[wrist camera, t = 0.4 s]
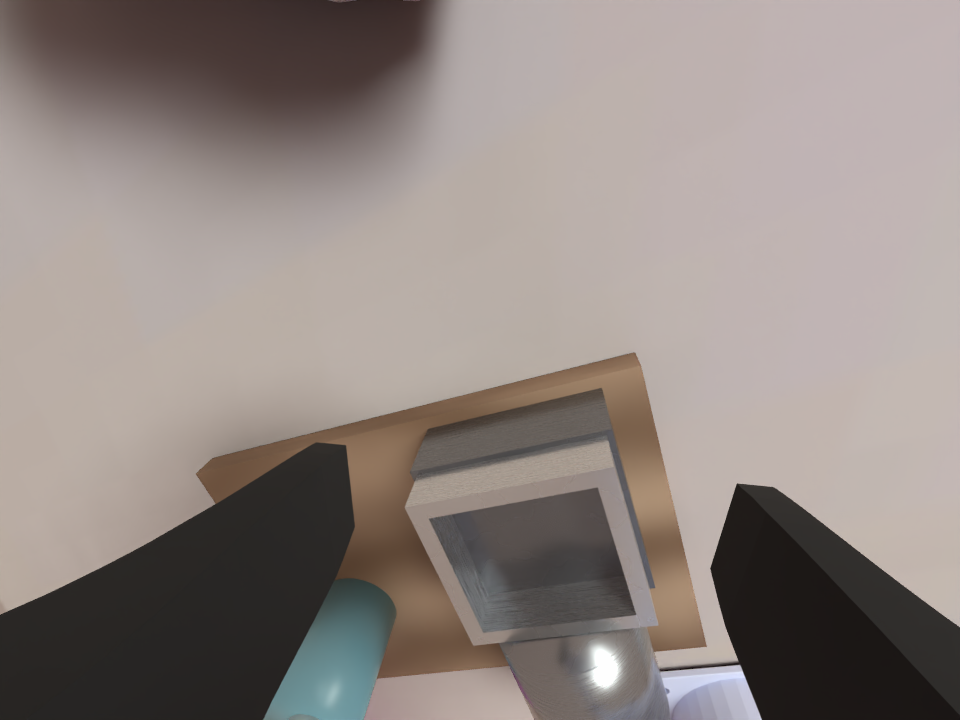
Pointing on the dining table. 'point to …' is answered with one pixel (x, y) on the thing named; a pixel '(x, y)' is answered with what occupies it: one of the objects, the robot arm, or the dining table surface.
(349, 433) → the mounting board
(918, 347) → the dining table surface
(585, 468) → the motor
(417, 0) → the food item
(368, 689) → the blue bottle white cap
